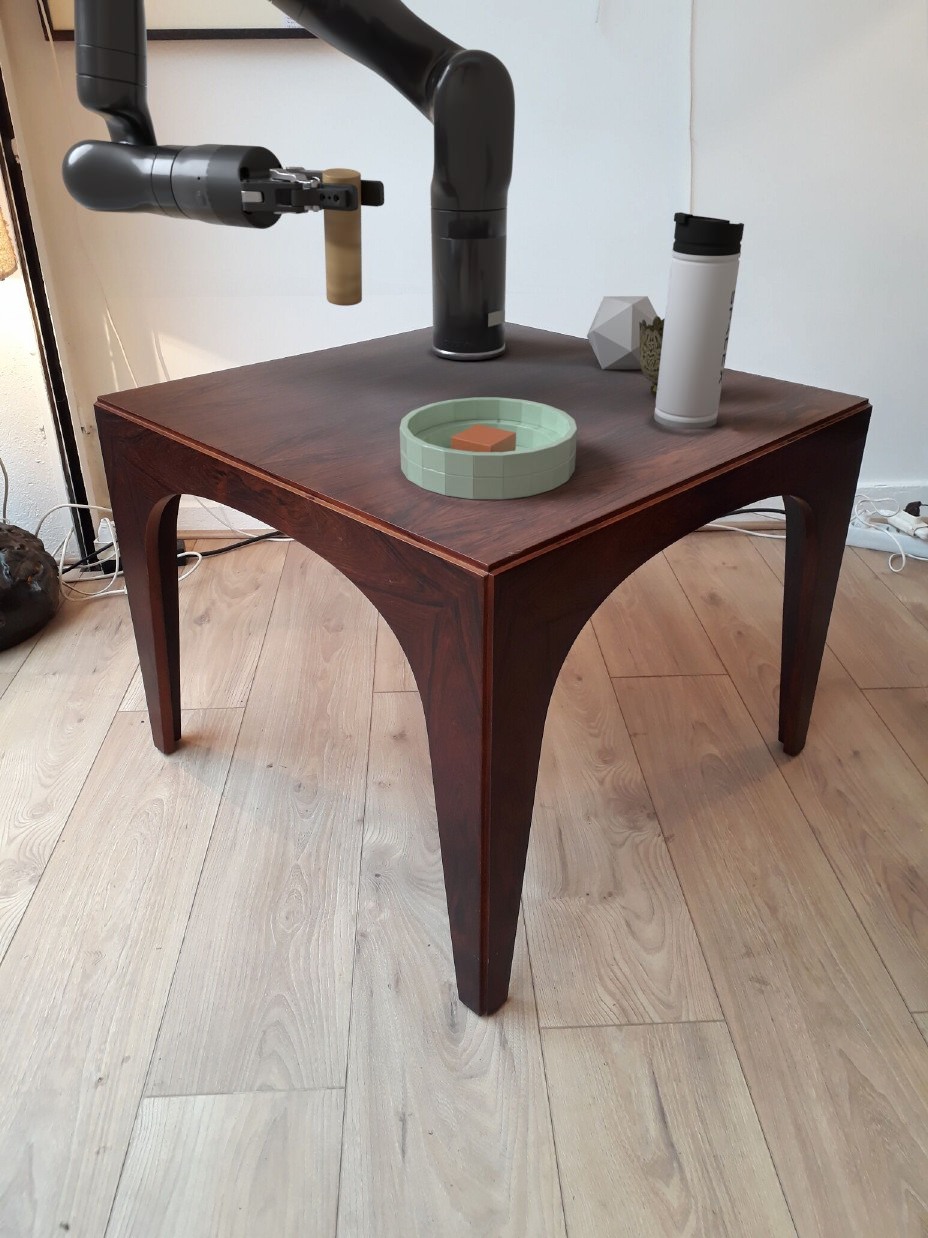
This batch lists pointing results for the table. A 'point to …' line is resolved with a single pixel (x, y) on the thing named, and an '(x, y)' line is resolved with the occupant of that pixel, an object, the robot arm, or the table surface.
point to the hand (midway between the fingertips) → (368, 195)
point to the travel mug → (697, 320)
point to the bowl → (488, 474)
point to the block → (484, 440)
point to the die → (620, 330)
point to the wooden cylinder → (343, 244)
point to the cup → (651, 350)
